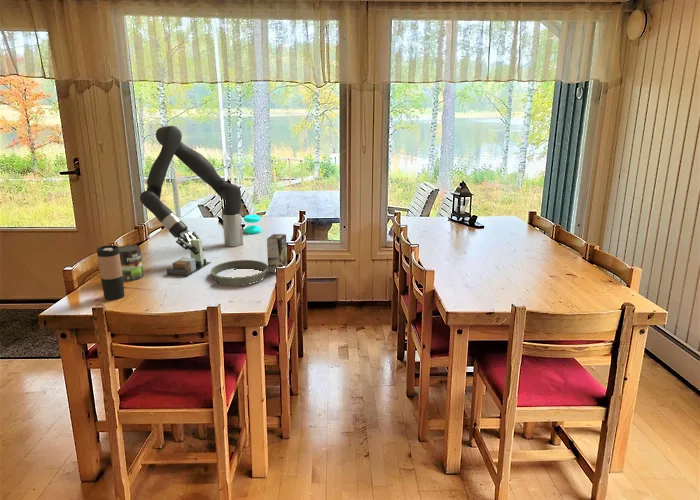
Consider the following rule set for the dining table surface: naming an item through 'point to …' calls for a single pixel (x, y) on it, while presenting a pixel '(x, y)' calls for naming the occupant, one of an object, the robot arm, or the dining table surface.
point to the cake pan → (239, 265)
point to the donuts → (252, 220)
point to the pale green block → (198, 245)
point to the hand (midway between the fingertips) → (200, 252)
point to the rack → (184, 271)
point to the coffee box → (276, 251)
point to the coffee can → (131, 262)
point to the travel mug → (110, 272)
